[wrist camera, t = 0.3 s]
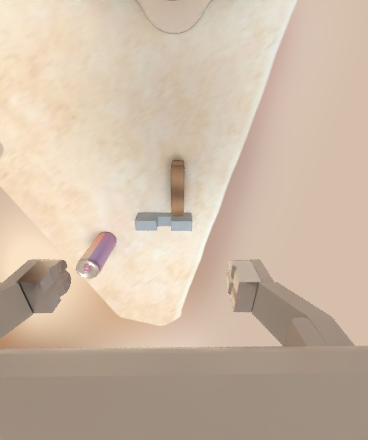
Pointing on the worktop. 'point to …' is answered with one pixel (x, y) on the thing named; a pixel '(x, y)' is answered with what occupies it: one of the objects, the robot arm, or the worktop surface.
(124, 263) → the worktop surface
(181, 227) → the notched grey block
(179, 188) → the wooden bridge block
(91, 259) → the beverage can
